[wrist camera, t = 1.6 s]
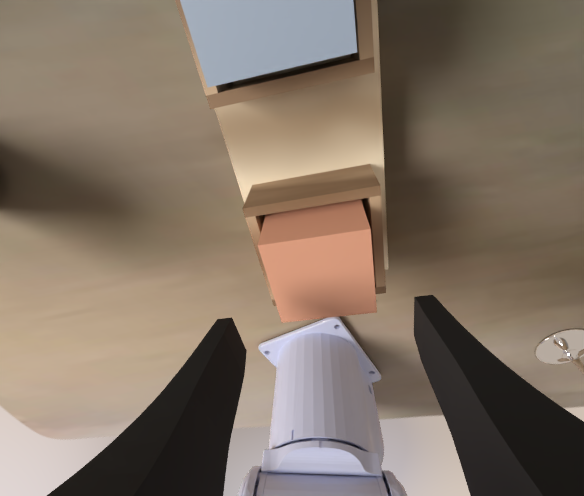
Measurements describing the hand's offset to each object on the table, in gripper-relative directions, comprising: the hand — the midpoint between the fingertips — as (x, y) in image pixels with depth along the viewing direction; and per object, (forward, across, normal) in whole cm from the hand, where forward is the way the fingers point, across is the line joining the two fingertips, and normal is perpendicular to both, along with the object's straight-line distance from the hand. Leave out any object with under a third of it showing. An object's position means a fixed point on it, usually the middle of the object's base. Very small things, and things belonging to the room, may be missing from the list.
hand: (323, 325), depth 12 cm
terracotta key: (+6, 0, 0) cm, 6 cm away
